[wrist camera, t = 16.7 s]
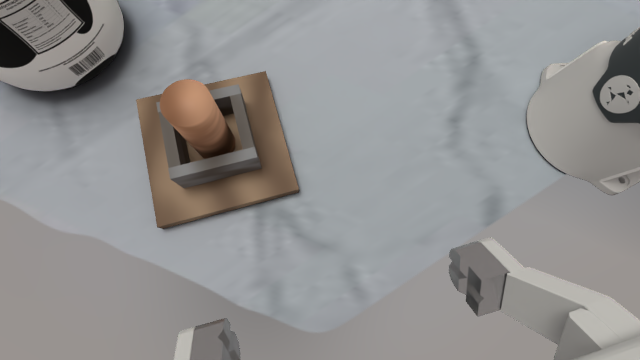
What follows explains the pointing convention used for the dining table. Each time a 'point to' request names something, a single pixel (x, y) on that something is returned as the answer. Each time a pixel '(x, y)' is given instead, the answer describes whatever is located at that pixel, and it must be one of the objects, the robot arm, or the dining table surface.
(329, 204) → the dining table surface
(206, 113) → the post
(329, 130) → the dining table surface
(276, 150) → the stand
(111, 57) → the milk container
